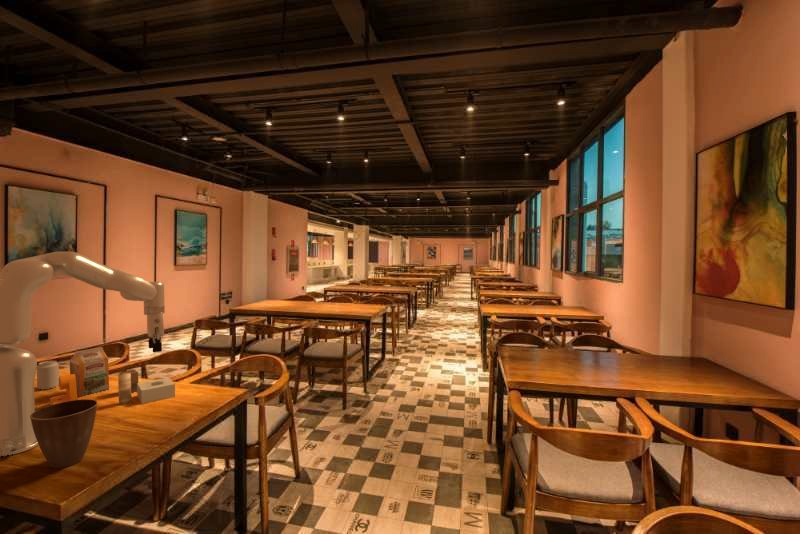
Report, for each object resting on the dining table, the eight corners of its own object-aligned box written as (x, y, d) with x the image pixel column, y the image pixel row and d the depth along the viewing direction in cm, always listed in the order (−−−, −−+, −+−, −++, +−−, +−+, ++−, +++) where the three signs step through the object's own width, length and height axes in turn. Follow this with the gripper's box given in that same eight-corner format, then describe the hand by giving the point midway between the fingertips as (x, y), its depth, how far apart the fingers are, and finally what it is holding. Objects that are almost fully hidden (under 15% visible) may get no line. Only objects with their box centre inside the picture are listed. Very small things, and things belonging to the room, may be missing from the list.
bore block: (175, 396, 166) (174, 384, 166) (141, 403, 158) (141, 390, 158) (169, 389, 175) (168, 377, 175) (137, 395, 167) (137, 383, 167)
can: (41, 386, 179) (40, 360, 179) (61, 384, 182) (61, 359, 182) (34, 391, 172) (33, 365, 172) (55, 389, 175) (54, 363, 175)
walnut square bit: (138, 391, 172) (138, 371, 172) (124, 395, 168) (123, 374, 167) (134, 389, 175) (133, 369, 175) (119, 392, 171) (119, 372, 171)
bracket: (50, 404, 158) (49, 375, 157) (72, 399, 163) (72, 371, 163) (53, 411, 150) (53, 381, 150) (77, 405, 156) (77, 376, 155)
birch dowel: (132, 402, 159) (131, 374, 158) (119, 405, 156) (118, 376, 156) (130, 400, 162) (130, 371, 162) (118, 402, 159) (117, 374, 159)
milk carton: (80, 397, 165) (79, 353, 165) (70, 392, 171) (69, 350, 170) (109, 390, 174) (108, 348, 174) (98, 385, 180) (97, 345, 179)
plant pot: (18, 480, 104) (16, 422, 104) (51, 452, 119) (49, 401, 118) (83, 471, 108) (82, 415, 108) (107, 446, 123) (106, 396, 122)
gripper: (168, 311, 161) (169, 352, 162) (160, 307, 174) (161, 345, 175) (147, 313, 156) (148, 355, 157) (140, 309, 169) (141, 347, 170)
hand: (155, 349), depth 166 cm, fingers open, 9 cm apart
